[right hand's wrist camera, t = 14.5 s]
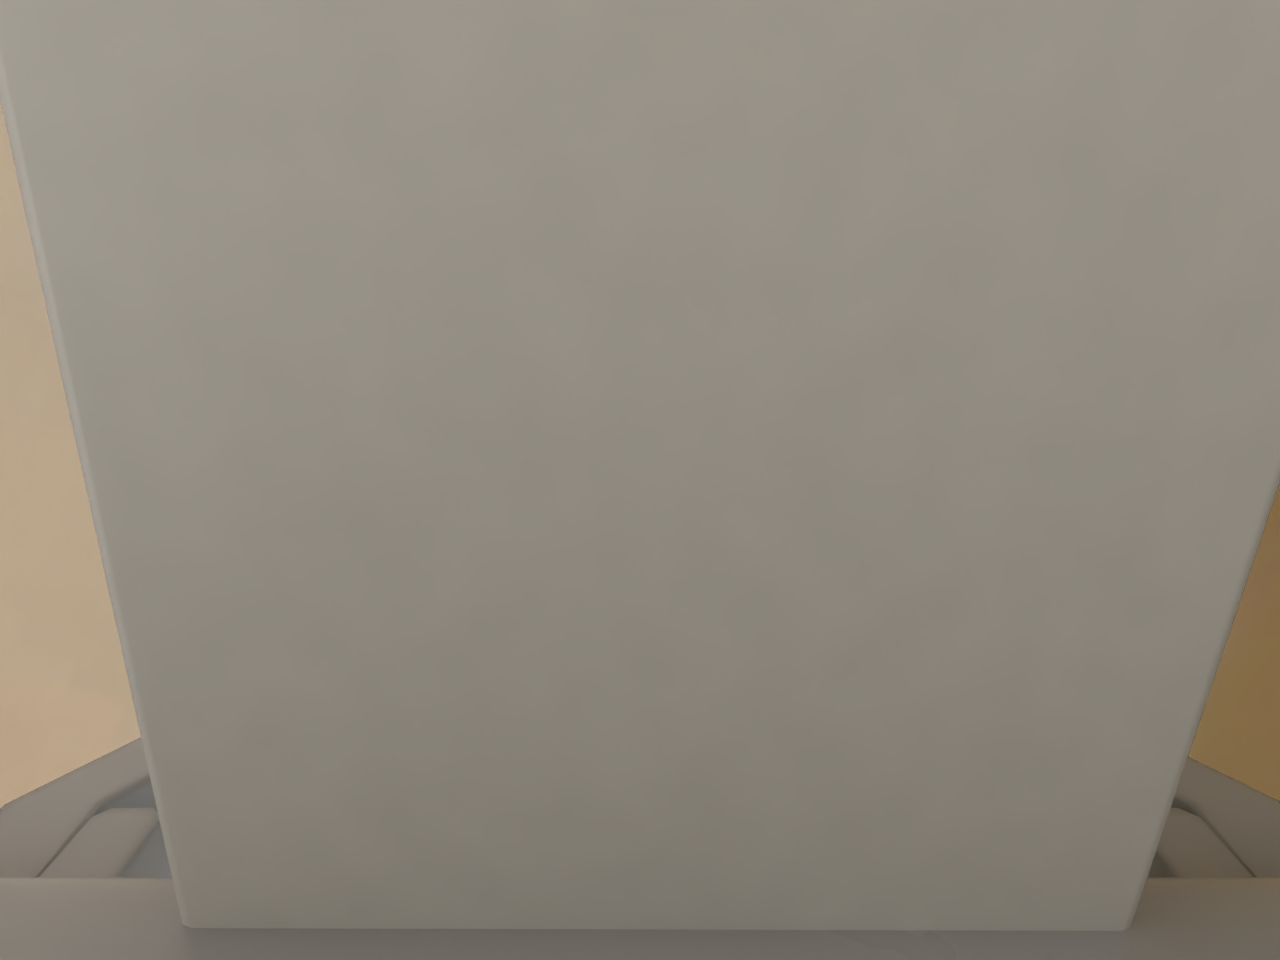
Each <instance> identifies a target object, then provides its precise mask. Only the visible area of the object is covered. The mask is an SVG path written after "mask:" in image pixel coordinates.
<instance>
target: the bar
mask: <svg viewBox="0 0 1280 960" xmlns="http://www.w3.org/2000/svg"><path fill="white" fill-rule="evenodd" d="M0 100H1V105H2V109H3V114H4V118H5V123H6V127H7V132H8V136H9V141H10V146H11V150H12V155H13V159H14V164H15V168H16V173H17V177H18V182H19V186H20V191H21V195H22V200H23V204H24V209H25V213H26V218H27V223H28V227H29V232H30V236H31V241H32V245H33V250H34V254H35V259H36V263H37V268H38V272H39V277H40V281H41V286H42V290H43V295H44V300H45V304H46V309H47V313H48V318H49V322H50V327H51V331H52V336H53V340H54V345H55V349H56V354H57V358H58V363H59V367H60V372H61V377H62V381H63V386H64V390H65V395H66V399H67V404H68V408H69V413H70V417H71V422H72V426H73V431H74V435H75V440H76V444H77V449H78V454H79V458H80V463H81V467H82V472H83V476H84V481H85V485H86V490H87V494H88V499H89V503H90V508H91V512H92V517H93V521H94V526H95V531H96V535H97V540H98V544H99V549H100V553H101V558H102V562H103V567H104V571H105V576H106V580H107V585H108V589H109V594H110V598H111V603H112V608H113V612H114V617H115V621H116V626H117V630H118V635H119V639H120V644H121V648H122V653H123V657H124V662H125V666H126V671H127V675H128V680H129V685H130V689H131V694H132V698H133V703H134V707H135V712H136V716H137V721H138V725H139V730H140V734H141V739H142V743H143V748H144V752H145V757H146V762H147V766H148V771H149V775H150V780H151V784H152V789H153V793H154V798H155V802H156V807H157V811H158V816H159V820H160V825H161V830H162V834H163V839H164V843H165V848H166V852H167V857H168V861H169V866H170V870H171V875H172V879H173V884H174V888H175V893H176V897H177V902H178V907H179V911H180V916H181V920H182V925H185V926H187V927H190V928H295V929H638V930H982V931H1123V930H1125V929H1128V928H1130V927H1131V924H1132V921H1133V918H1134V915H1135V912H1136V909H1137V907H1138V904H1139V901H1140V898H1141V895H1142V892H1143V889H1144V886H1145V883H1146V880H1147V877H1148V874H1149V871H1150V868H1151V865H1152V862H1153V859H1154V856H1155V853H1156V850H1157V847H1158V844H1159V841H1160V838H1161V835H1162V832H1163V829H1164V826H1165V823H1166V820H1167V817H1168V814H1169V811H1170V808H1171V805H1172V802H1173V799H1174V796H1175V793H1176V790H1177V787H1178V784H1179V781H1180V778H1181V775H1182V772H1183V769H1184V766H1185V764H1186V761H1187V758H1188V755H1189V752H1190V749H1191V746H1192V743H1193V740H1194V737H1195V734H1196V731H1197V728H1198V725H1199V722H1200V719H1201V716H1202V713H1203V710H1204V707H1205V704H1206V701H1207V698H1208V695H1209V692H1210V689H1211V686H1212V683H1213V680H1214V677H1215V674H1216V671H1217V668H1218V665H1219V662H1220V659H1221V656H1222V653H1223V650H1224V647H1225V644H1226V641H1227V638H1228V635H1229V632H1230V629H1231V626H1232V623H1233V621H1234V618H1235V615H1236V612H1237V609H1238V606H1239V603H1240V600H1241V597H1242V594H1243V591H1244V588H1245V585H1246V582H1247V579H1248V576H1249V573H1250V570H1251V567H1252V564H1253V561H1254V558H1255V555H1256V552H1257V549H1258V546H1259V543H1260V540H1261V537H1262V534H1263V531H1264V528H1265V525H1266V522H1267V519H1268V516H1269V513H1270V510H1271V507H1272V504H1273V501H1274V498H1275V495H1276V492H1277V489H1278V486H1279V483H1280V0H0Z"/></svg>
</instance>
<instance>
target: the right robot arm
mask: <svg viewBox="0 0 1280 960" xmlns="http://www.w3.org/2000/svg"><path fill="white" fill-rule="evenodd" d="M0 960H1280V802H1279V801H1277V800H1275V799H1273V798H1271V797H1269V796H1267V795H1265V794H1263V793H1261V792H1259V791H1257V790H1255V789H1253V788H1251V787H1249V786H1247V785H1245V784H1243V783H1241V782H1239V781H1237V780H1235V779H1232V778H1230V777H1228V776H1226V775H1224V774H1222V773H1220V772H1218V771H1216V770H1214V769H1212V768H1210V767H1208V766H1206V765H1204V764H1202V763H1200V762H1198V761H1196V760H1194V759H1192V758H1190V757H1188V758H1187V761H1186V764H1185V766H1184V769H1183V772H1182V775H1181V778H1180V781H1179V784H1178V787H1177V790H1176V793H1175V796H1174V799H1173V802H1172V805H1171V808H1170V811H1169V814H1168V817H1167V820H1166V823H1165V826H1164V829H1163V832H1162V835H1161V838H1160V841H1159V844H1158V847H1157V850H1156V853H1155V856H1154V859H1153V862H1152V865H1151V868H1150V871H1149V874H1148V877H1147V880H1146V883H1145V886H1144V889H1143V892H1142V895H1141V898H1140V901H1139V904H1138V907H1137V909H1136V912H1135V915H1134V918H1133V921H1132V924H1131V927H1130V928H1128V929H1125V930H1123V931H982V930H638V929H295V928H190V927H187V926H185V925H182V920H181V916H180V911H179V907H178V902H177V897H176V893H175V888H174V884H173V879H172V875H171V870H170V866H169V861H168V857H167V852H166V848H165V843H164V839H163V834H162V830H161V825H160V820H159V816H158V811H157V807H156V802H155V798H154V793H153V789H152V784H151V780H150V775H149V771H148V766H147V762H146V757H145V752H144V748H143V743H142V739H141V738H139V739H137V740H135V741H133V742H131V743H129V744H127V745H125V746H123V747H121V748H118V749H116V750H114V751H112V752H110V753H108V754H106V755H104V756H102V757H100V758H98V759H96V760H94V761H92V762H90V763H88V764H86V765H84V766H82V767H80V768H78V769H76V770H74V771H72V772H70V773H68V774H66V775H64V776H62V777H60V778H58V779H56V780H54V781H52V782H50V783H47V784H45V785H43V786H41V787H39V788H37V789H35V790H33V791H31V792H29V793H27V794H25V795H23V796H21V797H19V798H17V799H15V800H13V801H11V802H9V803H7V804H5V805H4V806H3V807H2V808H1V809H0Z"/></svg>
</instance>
